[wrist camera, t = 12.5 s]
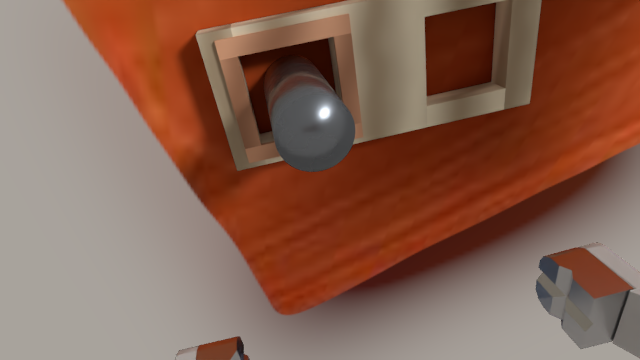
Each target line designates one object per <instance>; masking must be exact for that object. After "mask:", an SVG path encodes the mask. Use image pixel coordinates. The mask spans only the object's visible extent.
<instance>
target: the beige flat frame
mask: <svg viewBox="0 0 640 360" xmlns="http://www.w3.org/2000/svg"><path fill="white" fill-rule="evenodd" d="M541 1H542V0H347V1H343V2H338V3H333V4H328V5H323V6H318V7H313V8H308V9H303V10H298V11H293V12H288V13H283V14H278V15H273V16H268V17H263V18H258V19H253V20H248V21H243V22H238V23H233V24H228V25H223V26H218V27H213V28H208V29H203V30H198V31H197V33H196V38H197V42H198V45H199V48H200V51H201V55H202V58H203V61H204V64H205V68H206V71H207V74H208V77H209V81H210V84H211V87H212V90H213V94H214V97H215V100H216V103H217V107H218V110H219V113H220V116H221V120H222V123H223V126H224V129H225V133H226V136H227V139H228V142H229V145H230V149H231V152H232V155H233V158H234V162H235V165H236V168H237V171H240V170H244V169H248V168H253V167H257V166H261V165H266V164H270V163H274V162H279V161H283V158H282V157H281V156H280V154H279V153H278V151H277V148H276V145H275V141H274V136H273V131H270V132H265V133H261V134H260V133H259V129H258V126H257V122H256V118H255V114H254V110H253V106H252V103H251V99H250V95H249V91H248V87H247V83H246V80H245V76H244V72H243V68H242V64H241V60H240V57H239V56H243V55H248V54H253V53H258V52H262V51H267V50H272V49H277V48H282V47H286V46H291V45H296V44H301V43H306V42H311V41H315V40H320V39H325V38H328V41H329V48H330V55H331V62H332V68H333V75H334V82H335V89H336V94H337V95H338V96H339V98H340V99H341V100H342V102H343V103H344V104H345V106H346V107H347V108H348V110H349V111H350V113H351V114H352V116H353V119H354V123H355V139H354V142H353V144H357V143H361V142H365V141H370V140H374V139H378V138H383V137H387V136H391V135H396V134H400V133H404V132H409V131H413V130H417V129H422V128H426V127H430V126H435V125H439V124H443V123H448V122H452V121H456V120H461V119H465V118H469V117H474V116H478V115H482V114H487V113H491V112H495V111H500V110H504V109H508V108H513V107H517V106H521V105H526V104H530V98H531V89H532V80H533V71H534V63H535V54H536V45H537V36H538V28H539V19H540V10H541ZM494 2H496V13H495V29H494V46H493V63H492V79H491V82H489V83H484V84H480V85H475V86H471V87H466V88H462V89H457V90H453V91H448V92H444V93H440V94H435V95H431V96H427V93H426V53H425V17H427V16H432V15H437V14H441V13H446V12H451V11H456V10H461V9H465V8H470V7H475V6H480V5H485V4H490V3H494Z"/></svg>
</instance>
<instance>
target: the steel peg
mask: <svg viewBox="0 0 640 360" xmlns="http://www.w3.org/2000/svg"><path fill="white" fill-rule="evenodd" d="M263 88H264V94H265V98H266V103H267V108H268V113H269V117H270V122H271V127H272V131H273V136H274V141H275V145H276V148H277V151H278V153H279V154H280V156H281V157H282V158H283V160H284V161H285V162H287V163H288V164H289V165H291V166H292V167H294V168H296V169H299V170H302V171H308V172H316V171H322V170H326V169H328V168H331V167H333V166H334V165H336V164H338V163H339V162H340V161H341V160H342V159H344V157H345V156H346V155H347V154H348V152H349V151H350V149H351V147H352V145H353V142H354V139H355V123H354V119H353V116H352V114H351V113H350V111H349V110H348V108H347V107H346V106H345V104H344V103H343V102H342V100H341V99H340V98H339V96H338V95H337V94H336V93H335V91H334V90H333V89H332V87H331V86H330V85H329V83H328V82H327V81H326V79H325V78H324V77H323V75H322V74H321V73H320V72H319V70H318V69H317V68H316V66H315V65H314V64H313V63H312V62H311V61H310V60H308V59H306V58H304V57H302V56H298V55H288V56H284V57H281V58H279V59H277V60H276V61H274V62H273V63H272V64H271V65H270V66H269V68H268V69H267V71H266V73H265V76H264V81H263Z"/></svg>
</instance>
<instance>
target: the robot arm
mask: <svg viewBox="0 0 640 360" xmlns="http://www.w3.org/2000/svg"><path fill="white" fill-rule="evenodd" d="M539 268H540V270H542V272H543V273H542V274H541V275H540V276H539V278H538V279H537V281H536V292H537V295H538V299H539V300H540V302H541V304H542V305H543V307H544V308H545V309H546V311H547V312H548V313H549V314H550V315H552V316H555V317H557V318H559V319H561V325H562V329H563V330H564V331H565V332H566V333H567V334H568V335H569V337H570V338H571V339H572V340H573V341H574V342H575V343H576V344H577V346H578V347H579V348H580V349H583V348H587V347H591V346H595V345H599V344H603V343H608V342H612V341H613V344H615V345H617V346H619V347H620V348H622V349H624V350H626V351H628V352H630V353H631V354H633V355H635V356H637V357H639V358H640V272H639V271H638V270H636V269H635V268H634V267H632V266H631V265H630V264H628V263H627V262H626V261H625V260H623V259H622V258H621V257H619V256H618V255H617V254H616V253H614V252H613V251H612V250H610V249H609V248H608V247H606V246H605V245H603V244H601V243H598V242H596V243H592V244H589V245H585V246H581V247H578V248H573V249H569V250H565V251H561V252H558V253H554V254H551V255H547V256H543V258H542V259H541V260H540V263H539ZM175 360H250V359H249V357H248V356H247V355H245V354H244V345H243V342H242V340H241V338H240V337H234V338H230V339H225V340H221V341H216V342H212V343H208V344H204V345H199V346H196V347H192V348H187V349H184V350H179V352H178V353H177V356H176V358H175Z"/></svg>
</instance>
